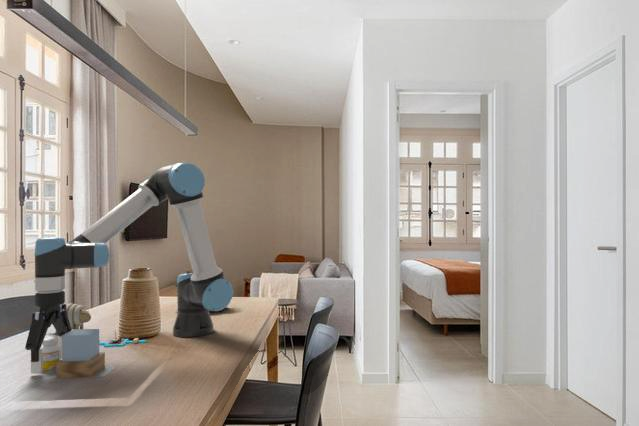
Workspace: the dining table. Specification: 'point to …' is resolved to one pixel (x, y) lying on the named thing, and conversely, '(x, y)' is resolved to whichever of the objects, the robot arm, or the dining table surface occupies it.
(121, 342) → the gear mechanism
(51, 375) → the board
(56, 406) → the dining table surface
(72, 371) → the base brick
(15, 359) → the dining table surface
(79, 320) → the toy sheep
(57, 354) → the supplement bottle
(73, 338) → the blue cube
